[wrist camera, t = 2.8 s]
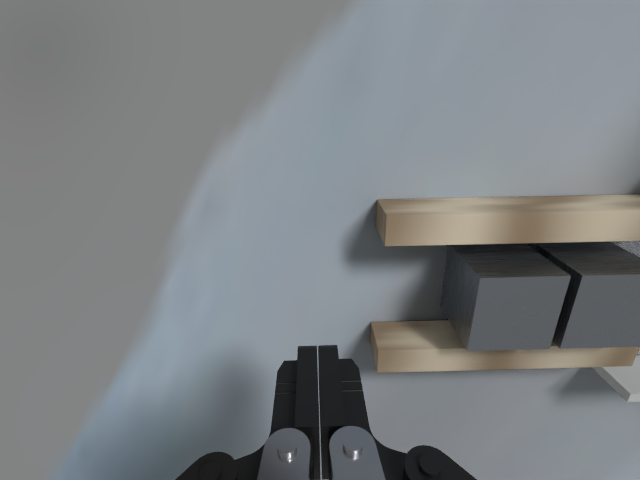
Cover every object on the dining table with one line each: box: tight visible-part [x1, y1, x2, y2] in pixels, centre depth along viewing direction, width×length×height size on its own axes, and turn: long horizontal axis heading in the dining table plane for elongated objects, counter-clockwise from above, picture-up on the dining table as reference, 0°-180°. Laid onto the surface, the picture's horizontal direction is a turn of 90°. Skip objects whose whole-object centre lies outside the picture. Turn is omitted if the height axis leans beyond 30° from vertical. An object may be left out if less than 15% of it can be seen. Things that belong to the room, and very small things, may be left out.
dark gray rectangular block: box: [440, 243, 571, 351], centre depth 18 cm, size 4×4×4 cm
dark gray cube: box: [530, 241, 640, 349], centre depth 18 cm, size 4×4×4 cm
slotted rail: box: [370, 194, 640, 373], centre depth 19 cm, size 14×9×2 cm, turn 91°
